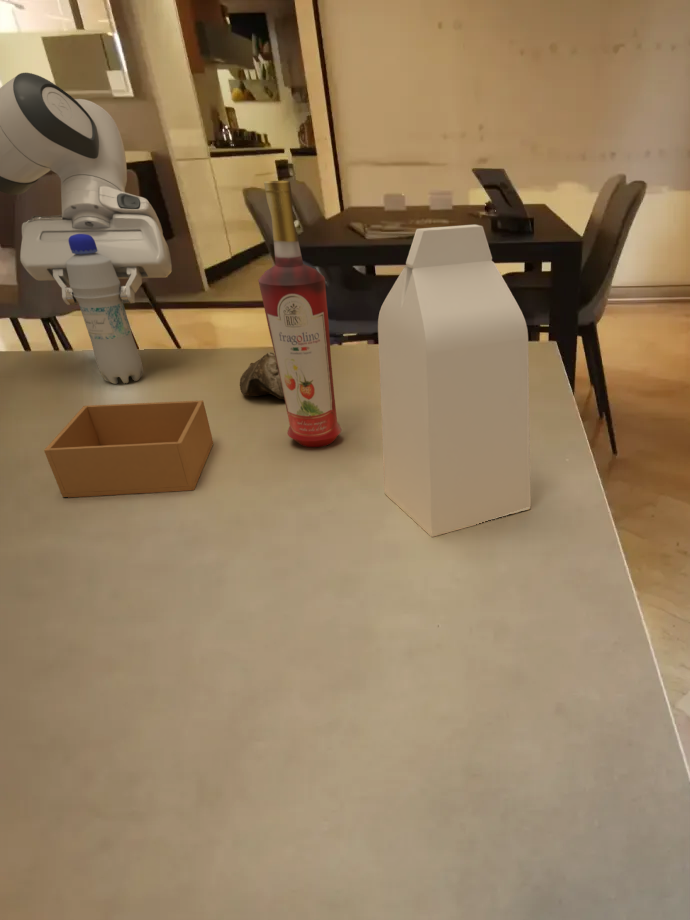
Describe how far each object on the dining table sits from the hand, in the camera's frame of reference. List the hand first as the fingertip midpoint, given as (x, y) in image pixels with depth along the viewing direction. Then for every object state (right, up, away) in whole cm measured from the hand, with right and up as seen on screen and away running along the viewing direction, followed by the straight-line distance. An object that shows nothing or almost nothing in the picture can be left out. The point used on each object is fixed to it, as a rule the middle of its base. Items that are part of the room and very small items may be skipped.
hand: (99, 301), depth 103 cm
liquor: (+35, -24, -12) cm, 44 cm away
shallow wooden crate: (+16, -30, -19) cm, 39 cm away
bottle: (0, -9, +8) cm, 12 cm away
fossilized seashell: (+25, -13, +2) cm, 29 cm away
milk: (+54, -35, -26) cm, 69 cm away
